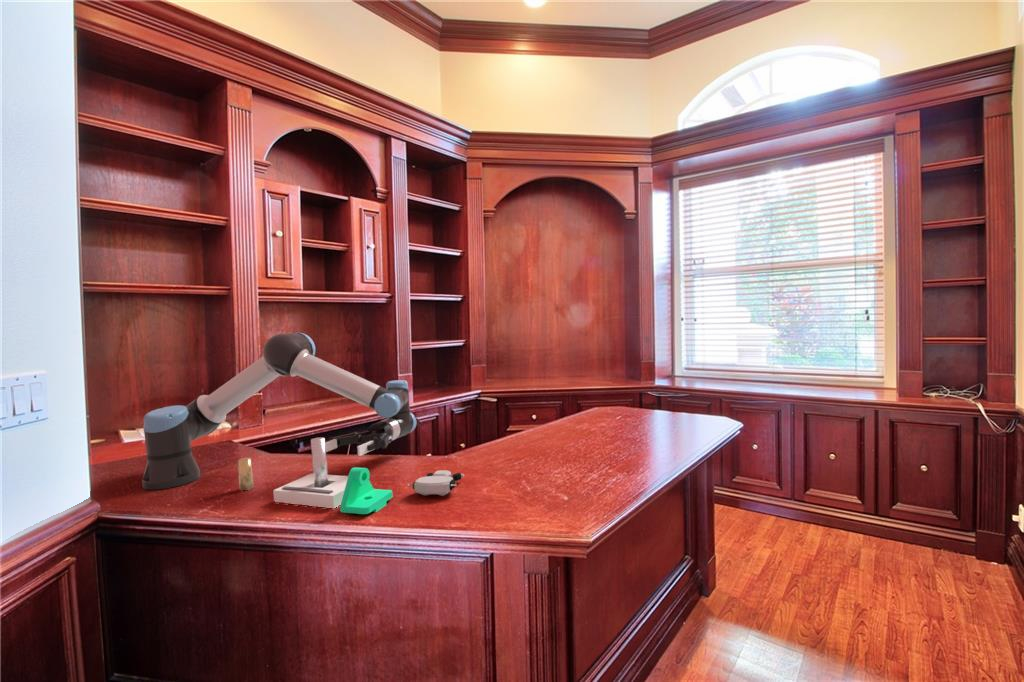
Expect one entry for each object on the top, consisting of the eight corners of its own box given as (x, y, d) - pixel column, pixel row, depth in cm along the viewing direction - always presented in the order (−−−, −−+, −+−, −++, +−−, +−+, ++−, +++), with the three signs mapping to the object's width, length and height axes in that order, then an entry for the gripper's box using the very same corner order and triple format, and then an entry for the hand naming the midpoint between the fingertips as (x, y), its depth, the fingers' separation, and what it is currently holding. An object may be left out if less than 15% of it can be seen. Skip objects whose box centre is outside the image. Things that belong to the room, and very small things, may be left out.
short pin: (242, 487, 145) (239, 458, 145) (255, 486, 146) (252, 456, 146) (238, 492, 142) (235, 461, 141) (251, 490, 143) (249, 460, 142)
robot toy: (426, 483, 142) (406, 499, 128) (426, 468, 143) (406, 482, 128) (467, 484, 140) (451, 500, 126) (466, 468, 140) (451, 482, 126)
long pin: (316, 494, 136) (311, 438, 135) (330, 493, 136) (325, 436, 136) (314, 499, 132) (309, 441, 131) (328, 497, 133) (323, 439, 132)
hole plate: (274, 502, 131) (273, 488, 131) (312, 484, 144) (311, 472, 144) (334, 509, 124) (332, 494, 124) (368, 489, 137) (367, 476, 137)
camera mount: (367, 518, 118) (364, 477, 117) (341, 516, 120) (337, 475, 119) (394, 499, 129) (391, 461, 128) (369, 498, 131) (366, 460, 131)
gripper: (416, 444, 157) (376, 465, 137) (353, 441, 165) (306, 460, 146) (415, 421, 156) (374, 439, 136) (351, 420, 165) (304, 436, 145)
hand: (339, 450), depth 141 cm, fingers open, 13 cm apart
